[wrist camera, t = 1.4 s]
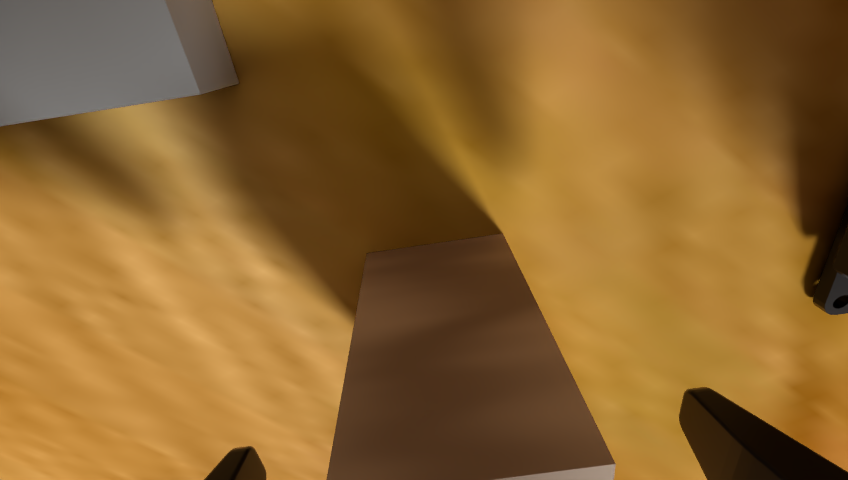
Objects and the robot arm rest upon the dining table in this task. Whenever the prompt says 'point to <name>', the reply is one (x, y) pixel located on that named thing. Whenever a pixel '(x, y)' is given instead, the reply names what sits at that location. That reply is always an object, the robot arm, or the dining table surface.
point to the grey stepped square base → (106, 55)
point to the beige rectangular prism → (459, 375)
